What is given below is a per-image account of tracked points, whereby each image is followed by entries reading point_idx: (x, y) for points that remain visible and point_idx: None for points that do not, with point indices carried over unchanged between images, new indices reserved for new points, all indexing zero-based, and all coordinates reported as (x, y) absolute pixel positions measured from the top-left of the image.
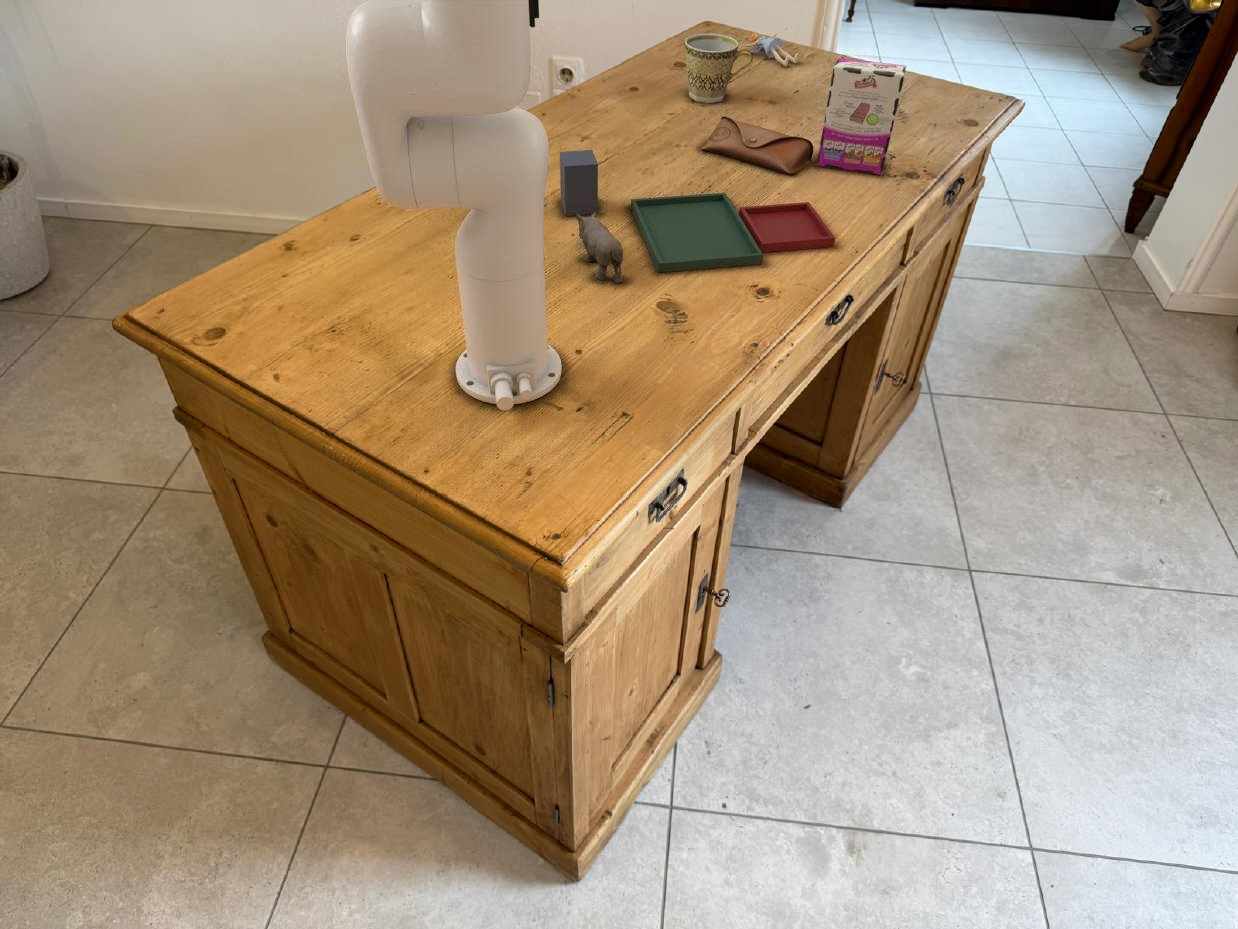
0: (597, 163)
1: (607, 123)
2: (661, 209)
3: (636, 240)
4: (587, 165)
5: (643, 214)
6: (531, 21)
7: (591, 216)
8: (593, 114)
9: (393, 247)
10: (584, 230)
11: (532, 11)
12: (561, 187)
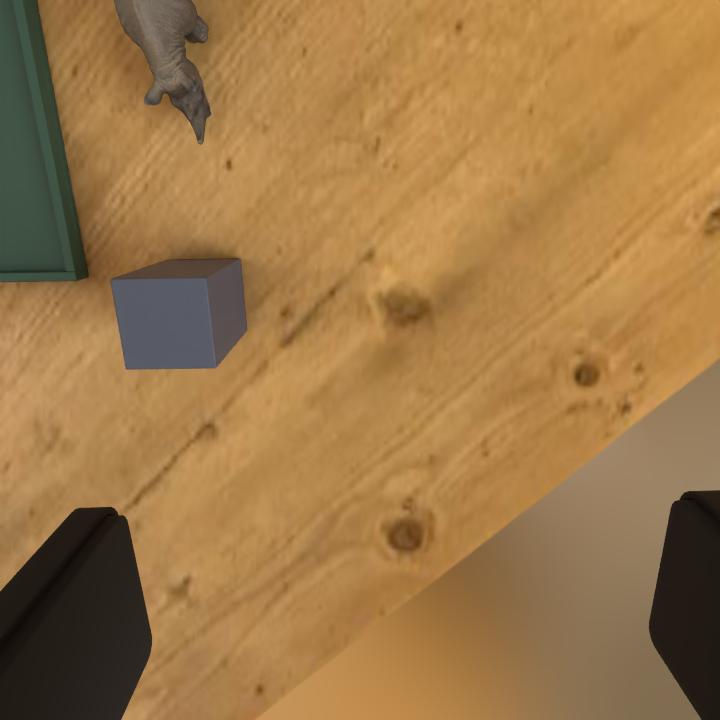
0: (111, 282)
1: None
2: (11, 246)
3: (78, 116)
4: (141, 277)
5: (55, 229)
6: (86, 529)
7: (159, 93)
8: (158, 682)
9: (641, 165)
10: (181, 12)
11: (22, 589)
12: (236, 323)
